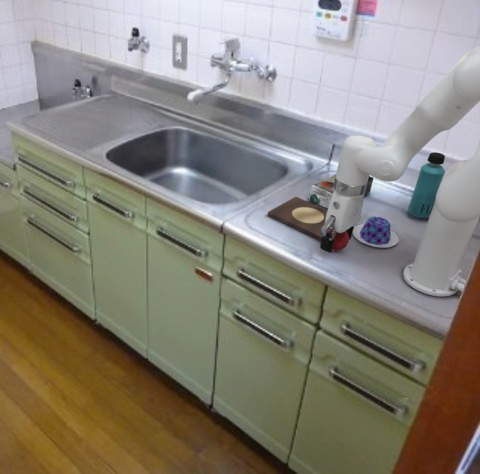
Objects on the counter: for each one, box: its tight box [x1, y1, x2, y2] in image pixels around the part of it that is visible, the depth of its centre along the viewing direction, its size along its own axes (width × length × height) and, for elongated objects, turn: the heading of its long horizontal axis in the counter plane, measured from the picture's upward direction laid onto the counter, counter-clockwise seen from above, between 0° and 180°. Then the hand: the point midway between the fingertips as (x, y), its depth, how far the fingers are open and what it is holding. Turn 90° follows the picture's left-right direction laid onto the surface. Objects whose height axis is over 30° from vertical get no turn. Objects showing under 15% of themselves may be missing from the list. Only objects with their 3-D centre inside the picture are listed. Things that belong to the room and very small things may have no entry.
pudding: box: [352, 216, 399, 249], centre depth 145 cm, size 12×12×5 cm
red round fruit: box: [329, 230, 350, 252], centre depth 139 cm, size 6×6×8 cm
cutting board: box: [267, 196, 335, 242], centre depth 153 cm, size 18×14×2 cm
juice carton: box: [309, 174, 374, 210], centre depth 164 cm, size 20×10×6 cm, turn 129°
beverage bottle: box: [407, 151, 446, 219], centre depth 151 cm, size 6×7×20 cm
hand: (335, 243), depth 140 cm, fingers open, 9 cm apart
